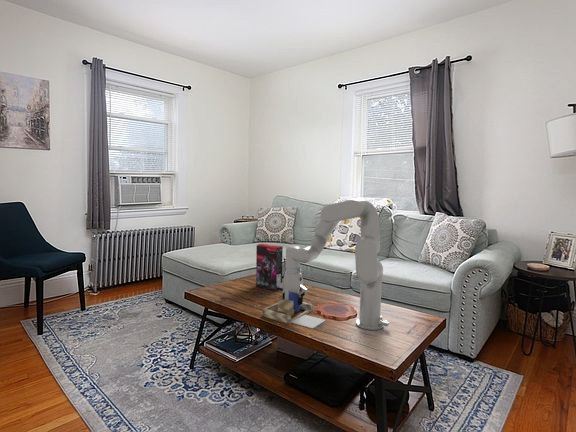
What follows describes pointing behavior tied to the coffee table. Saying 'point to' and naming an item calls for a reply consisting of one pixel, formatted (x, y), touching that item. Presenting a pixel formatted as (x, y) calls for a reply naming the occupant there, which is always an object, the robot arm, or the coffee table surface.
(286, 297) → the walkman
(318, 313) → the coffee table surface
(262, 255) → the graphics card box
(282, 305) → the offcut upper
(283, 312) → the offcut lower
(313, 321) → the mat
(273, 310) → the rack
